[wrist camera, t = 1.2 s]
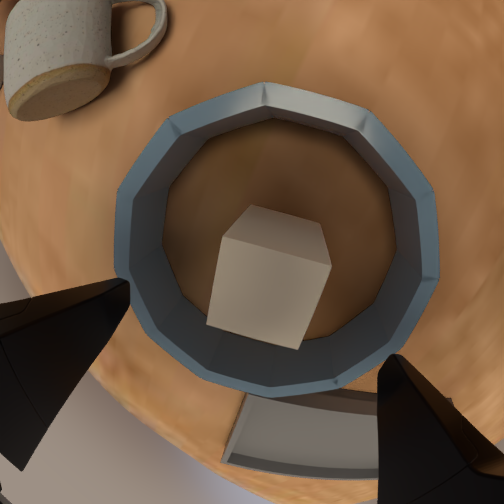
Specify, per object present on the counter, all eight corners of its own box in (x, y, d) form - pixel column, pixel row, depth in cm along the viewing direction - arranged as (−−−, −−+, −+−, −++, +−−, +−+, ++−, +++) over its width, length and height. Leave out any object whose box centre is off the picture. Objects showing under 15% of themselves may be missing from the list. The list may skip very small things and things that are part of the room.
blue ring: (441, 158, 12) (478, 163, 9) (349, 372, 18) (355, 412, 15) (173, 86, 13) (138, 71, 10) (145, 314, 19) (118, 346, 16)
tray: (450, 398, 18) (458, 416, 16) (380, 464, 23) (382, 479, 21) (253, 370, 20) (248, 394, 17) (225, 445, 25) (220, 462, 23)
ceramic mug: (61, 126, 15) (-20, 133, 8) (56, 44, 13) (-11, 32, 5) (183, 65, 13) (109, 18, 6) (167, -21, 10) (112, -74, 3)
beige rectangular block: (320, 223, 15) (331, 266, 9) (299, 285, 16) (297, 349, 11) (250, 204, 15) (222, 236, 10) (236, 267, 17) (206, 324, 11)
